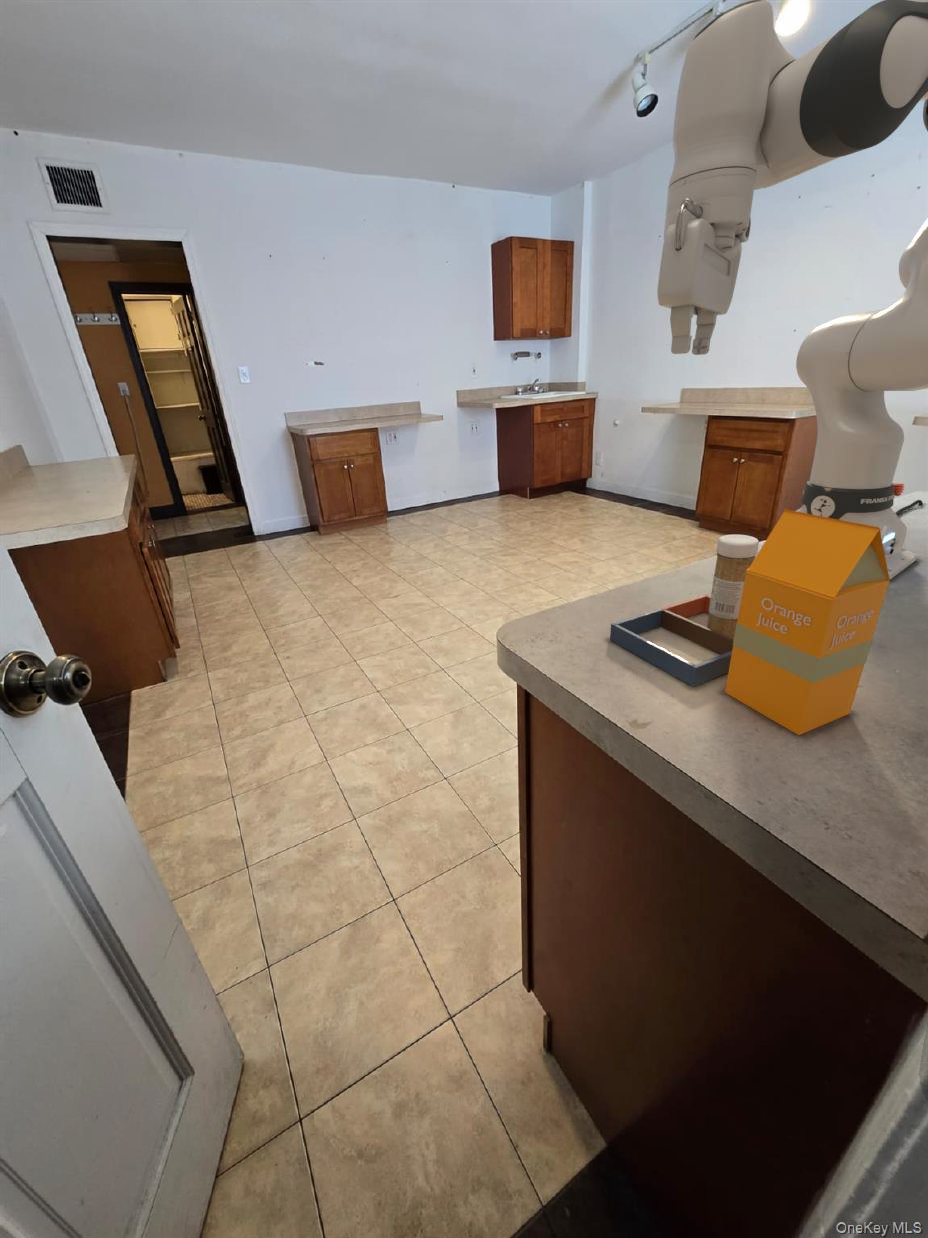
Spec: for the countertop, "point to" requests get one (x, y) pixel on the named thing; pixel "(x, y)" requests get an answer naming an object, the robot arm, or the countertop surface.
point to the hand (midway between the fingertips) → (690, 354)
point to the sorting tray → (677, 623)
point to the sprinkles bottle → (730, 581)
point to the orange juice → (808, 620)
